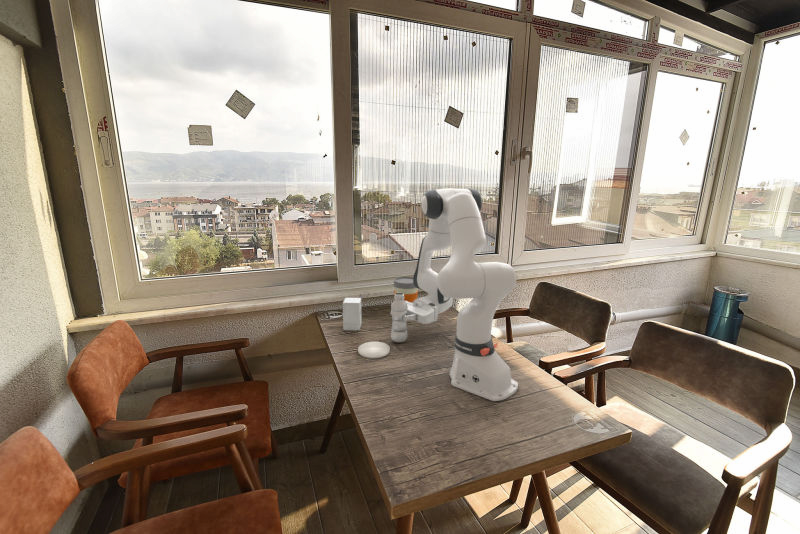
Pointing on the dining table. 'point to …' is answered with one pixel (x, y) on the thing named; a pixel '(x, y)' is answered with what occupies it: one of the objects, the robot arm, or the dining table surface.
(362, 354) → the coaster
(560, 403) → the dining table surface
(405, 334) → the plastic bottle
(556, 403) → the dining table surface
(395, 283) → the reusable coffee cup
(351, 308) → the supplement box
